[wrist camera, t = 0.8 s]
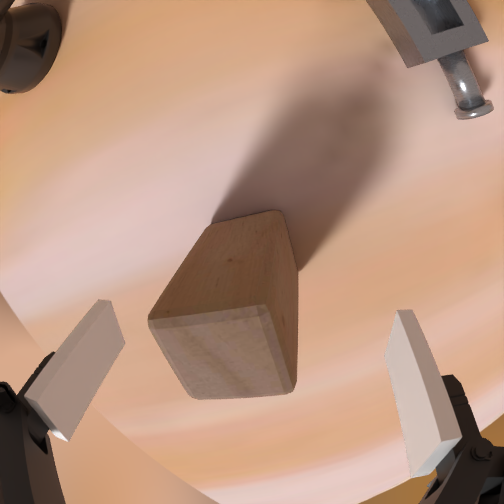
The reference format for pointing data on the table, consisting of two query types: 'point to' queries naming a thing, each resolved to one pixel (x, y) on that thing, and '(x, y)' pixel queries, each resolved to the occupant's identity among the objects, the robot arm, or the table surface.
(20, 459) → the robot arm
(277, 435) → the table surface
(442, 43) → the valve body
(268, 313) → the wooden block
